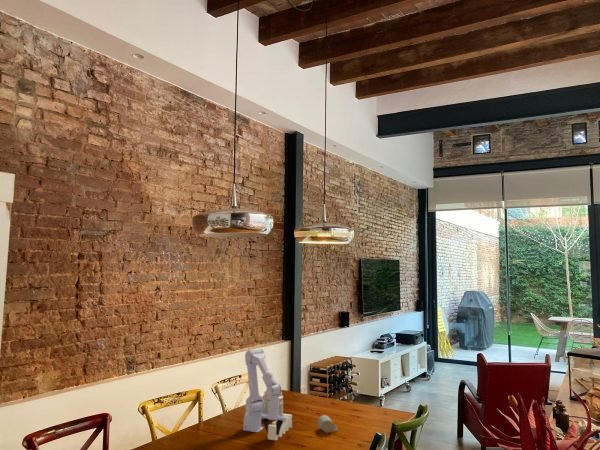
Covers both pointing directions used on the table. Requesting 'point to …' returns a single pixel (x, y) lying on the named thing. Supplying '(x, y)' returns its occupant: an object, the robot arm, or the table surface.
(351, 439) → the table surface
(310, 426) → the table surface
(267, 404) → the jar
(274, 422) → the tile
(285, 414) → the tile
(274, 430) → the tile
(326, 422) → the ceramic mug
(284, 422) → the tile
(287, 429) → the tile
